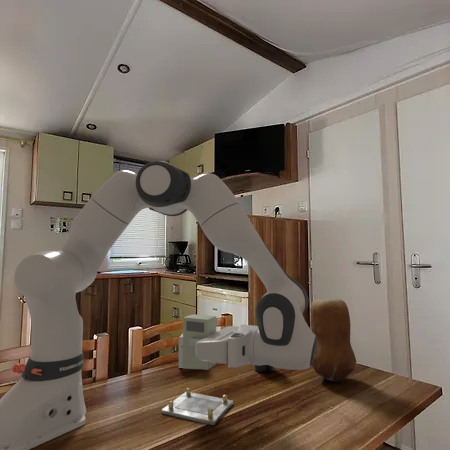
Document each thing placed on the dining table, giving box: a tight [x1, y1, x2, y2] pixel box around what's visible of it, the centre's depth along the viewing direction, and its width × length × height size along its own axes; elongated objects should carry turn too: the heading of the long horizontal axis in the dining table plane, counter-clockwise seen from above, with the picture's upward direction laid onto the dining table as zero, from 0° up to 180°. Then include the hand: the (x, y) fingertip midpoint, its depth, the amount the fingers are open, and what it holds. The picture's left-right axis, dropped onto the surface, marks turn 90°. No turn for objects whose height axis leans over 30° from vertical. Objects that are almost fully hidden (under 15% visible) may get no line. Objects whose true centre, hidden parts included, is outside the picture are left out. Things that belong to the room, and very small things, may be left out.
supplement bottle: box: [253, 365, 275, 374], centre depth 112 cm, size 7×7×12 cm
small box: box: [178, 333, 199, 370], centre depth 115 cm, size 8×6×10 cm
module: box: [182, 313, 217, 371], centre depth 85 cm, size 5×7×12 cm
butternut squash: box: [309, 298, 357, 383], centre depth 104 cm, size 14×13×25 cm
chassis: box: [160, 387, 234, 426], centre depth 83 cm, size 12×14×2 cm
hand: (196, 338), depth 85 cm, fingers closed on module, 5 cm apart
